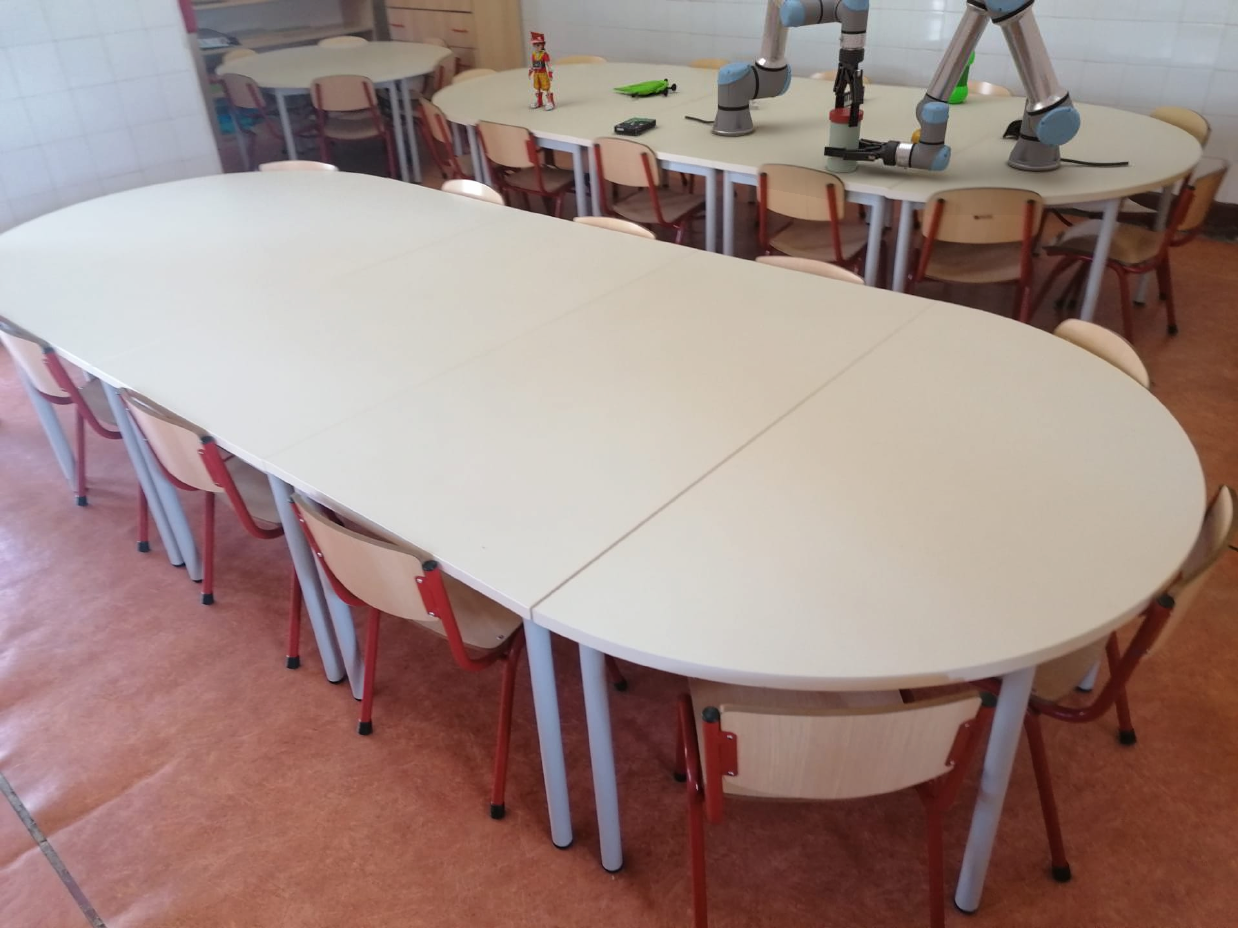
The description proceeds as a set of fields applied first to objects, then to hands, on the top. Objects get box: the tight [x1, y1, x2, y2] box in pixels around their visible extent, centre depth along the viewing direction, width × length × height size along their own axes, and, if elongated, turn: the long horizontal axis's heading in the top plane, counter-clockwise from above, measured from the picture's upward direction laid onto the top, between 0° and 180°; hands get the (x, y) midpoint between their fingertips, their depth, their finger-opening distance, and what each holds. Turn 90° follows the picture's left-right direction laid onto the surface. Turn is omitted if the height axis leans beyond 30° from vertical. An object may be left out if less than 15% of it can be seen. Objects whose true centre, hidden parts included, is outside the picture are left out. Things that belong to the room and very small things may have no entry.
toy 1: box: [527, 31, 556, 111], centre depth 374 cm, size 12×9×30 cm
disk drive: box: [613, 116, 657, 136], centre depth 344 cm, size 10×3×15 cm
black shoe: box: [1002, 115, 1023, 140], centre depth 316 cm, size 30×9×10 cm
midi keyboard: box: [842, 85, 866, 108], centre depth 359 cm, size 18×1×5 cm, turn 138°
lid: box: [828, 107, 865, 123], centre depth 284 cm, size 10×10×2 cm
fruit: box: [910, 128, 921, 143], centre depth 303 cm, size 8×8×8 cm
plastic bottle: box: [948, 49, 976, 104], centre depth 348 cm, size 10×10×25 cm
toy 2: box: [612, 78, 677, 99], centre depth 396 cm, size 28×5×30 cm
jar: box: [826, 120, 862, 173], centre depth 289 cm, size 9×9×17 cm
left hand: (845, 122), depth 285 cm, fingers open, 11 cm apart
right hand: (830, 147), depth 292 cm, fingers closed on jar, 9 cm apart
